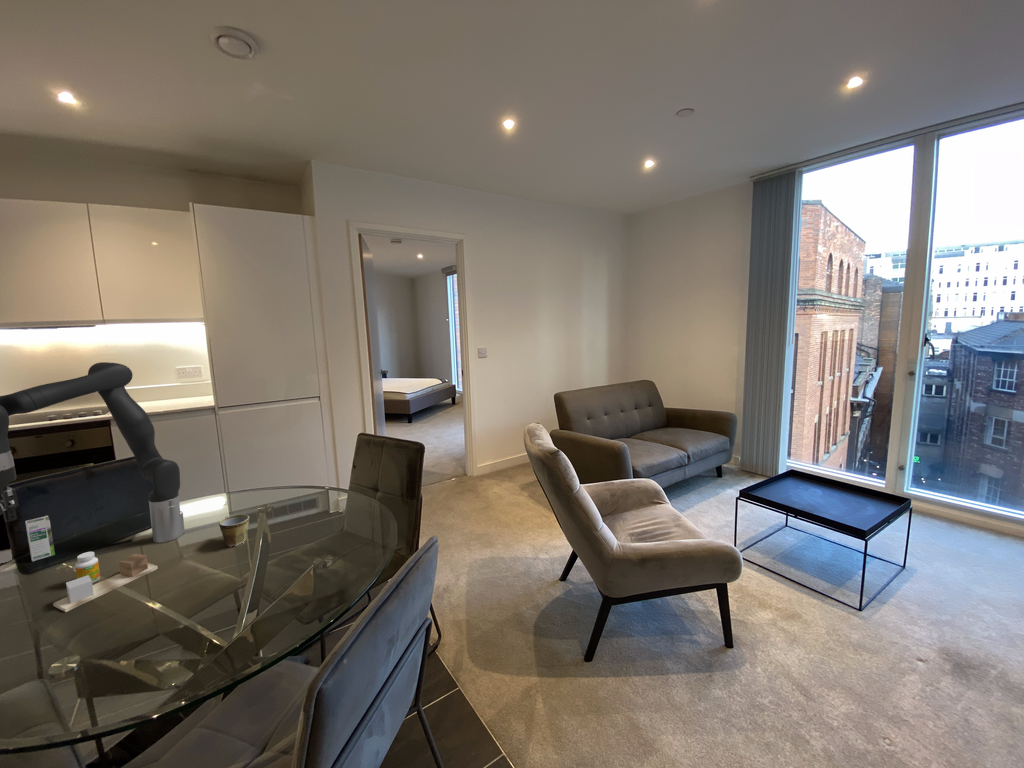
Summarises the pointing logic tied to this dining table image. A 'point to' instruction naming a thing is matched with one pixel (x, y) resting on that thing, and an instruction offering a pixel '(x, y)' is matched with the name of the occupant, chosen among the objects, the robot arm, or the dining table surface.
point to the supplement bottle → (87, 566)
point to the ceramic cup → (234, 529)
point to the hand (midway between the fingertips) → (4, 518)
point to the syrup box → (40, 538)
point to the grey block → (79, 589)
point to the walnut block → (133, 565)
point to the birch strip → (102, 588)
